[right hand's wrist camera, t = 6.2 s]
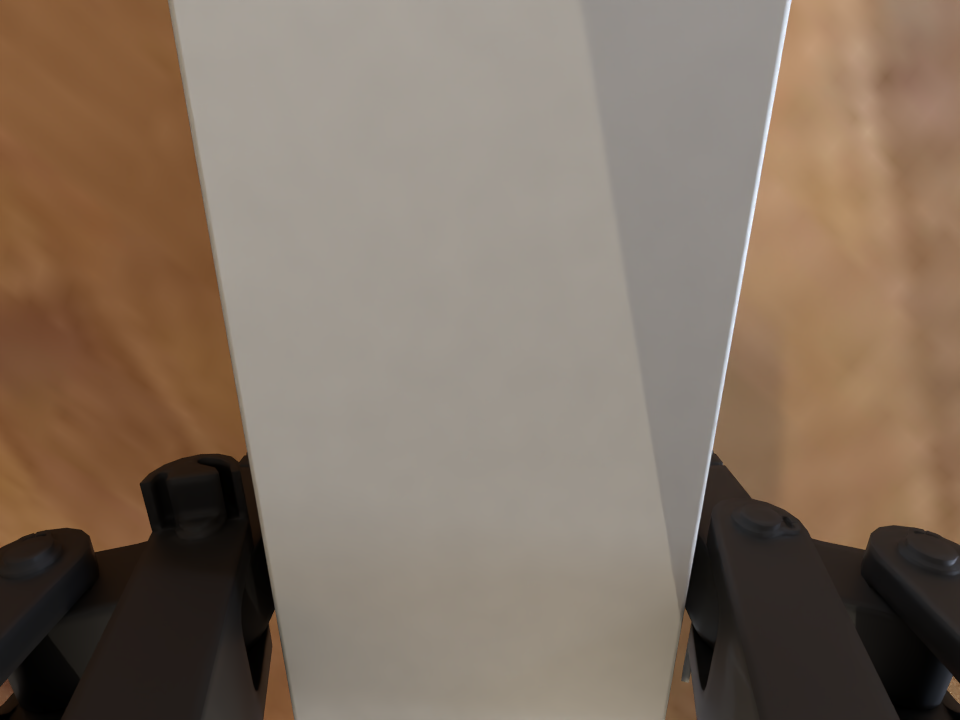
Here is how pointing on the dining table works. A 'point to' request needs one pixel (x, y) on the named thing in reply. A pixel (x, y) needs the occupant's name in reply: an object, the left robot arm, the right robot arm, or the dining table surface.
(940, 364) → the dining table surface
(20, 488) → the dining table surface
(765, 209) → the dining table surface
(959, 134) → the dining table surface
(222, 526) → the right robot arm
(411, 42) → the bar
